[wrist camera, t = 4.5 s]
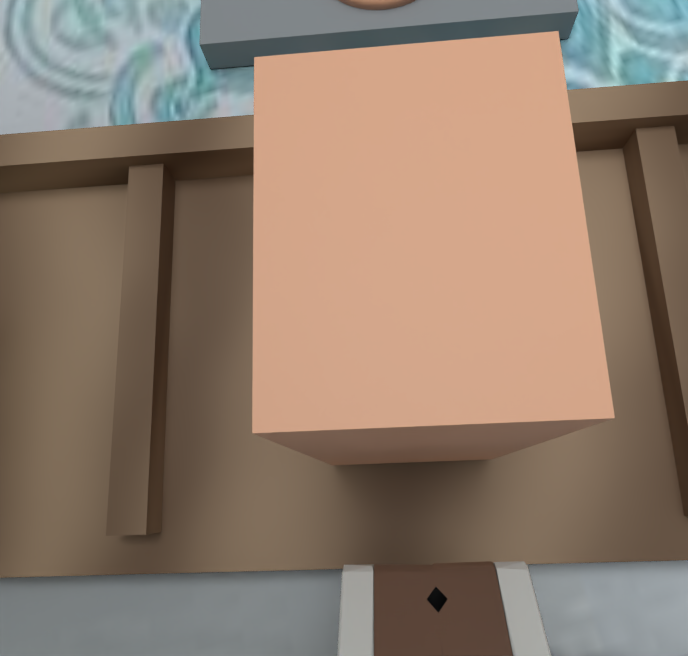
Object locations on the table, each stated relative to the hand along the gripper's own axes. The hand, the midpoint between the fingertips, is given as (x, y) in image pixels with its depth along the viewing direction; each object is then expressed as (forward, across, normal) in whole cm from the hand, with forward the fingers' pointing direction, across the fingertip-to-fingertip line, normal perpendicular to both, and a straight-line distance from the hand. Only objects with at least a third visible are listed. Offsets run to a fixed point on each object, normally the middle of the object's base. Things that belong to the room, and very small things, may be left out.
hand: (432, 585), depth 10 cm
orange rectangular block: (+7, 0, 0) cm, 7 cm away
